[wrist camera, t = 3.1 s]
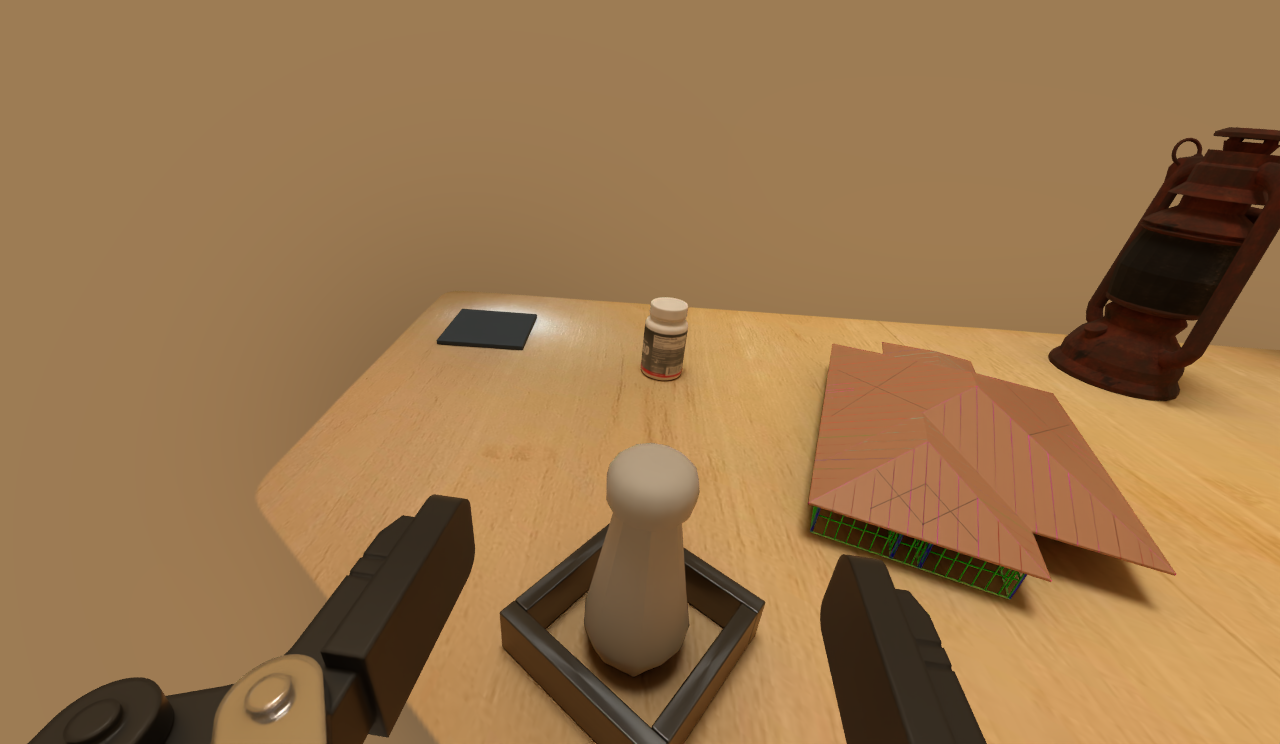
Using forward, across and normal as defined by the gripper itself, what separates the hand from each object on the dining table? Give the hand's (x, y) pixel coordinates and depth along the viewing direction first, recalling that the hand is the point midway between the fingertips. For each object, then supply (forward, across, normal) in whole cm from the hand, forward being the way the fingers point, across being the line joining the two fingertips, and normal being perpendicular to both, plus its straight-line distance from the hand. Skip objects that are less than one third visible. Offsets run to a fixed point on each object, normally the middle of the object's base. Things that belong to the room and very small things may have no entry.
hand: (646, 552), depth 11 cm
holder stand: (+10, 0, +19) cm, 21 cm away
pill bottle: (+43, +1, +19) cm, 47 cm away
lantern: (+59, -59, +19) cm, 86 cm away
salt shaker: (+10, 0, +19) cm, 21 cm away
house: (+33, -26, +19) cm, 46 cm away
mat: (+48, +23, +18) cm, 56 cm away
